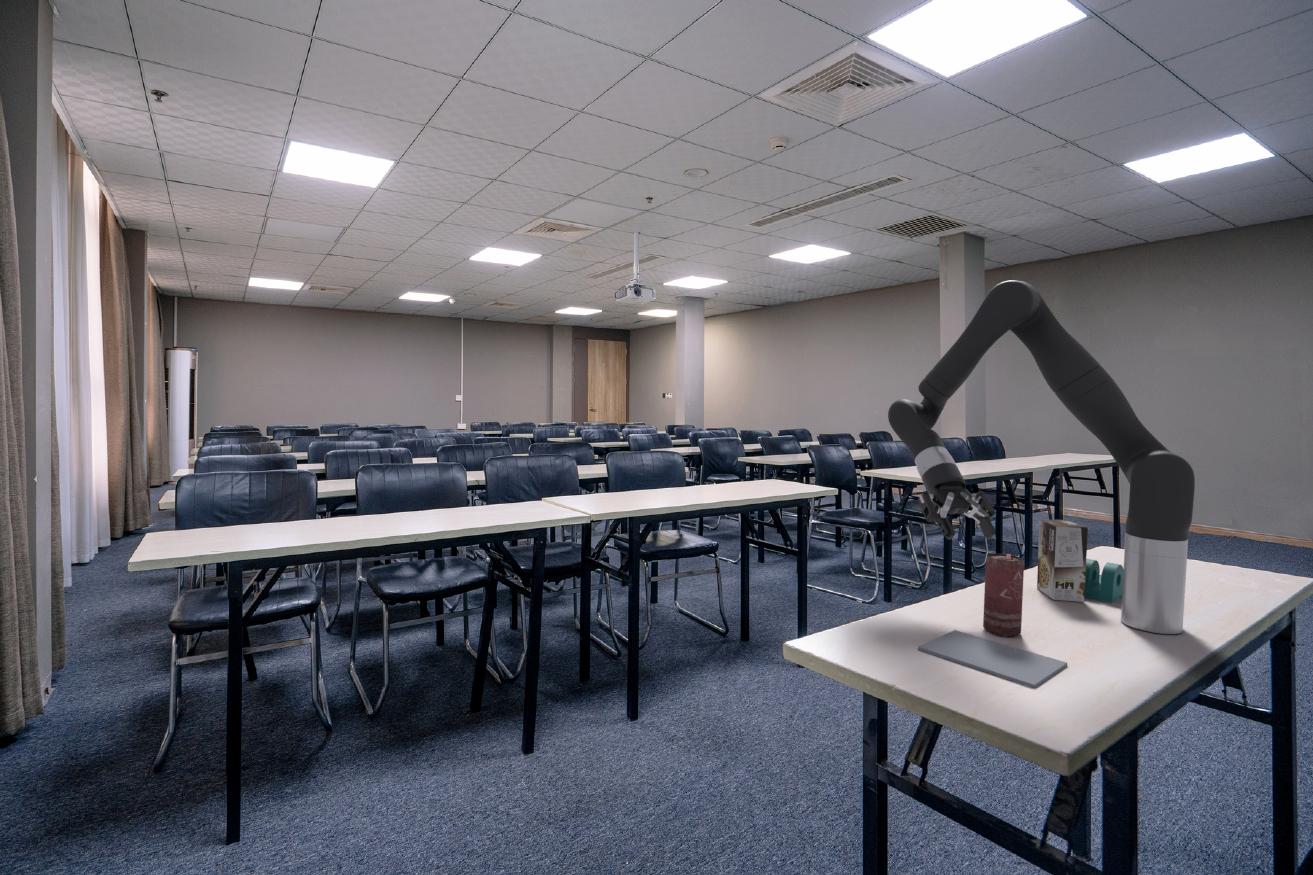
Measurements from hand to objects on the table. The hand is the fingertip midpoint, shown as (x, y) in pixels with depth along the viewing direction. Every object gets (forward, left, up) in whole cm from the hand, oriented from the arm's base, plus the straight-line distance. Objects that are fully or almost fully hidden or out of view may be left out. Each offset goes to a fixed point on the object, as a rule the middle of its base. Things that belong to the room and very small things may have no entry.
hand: (971, 536), depth 123 cm
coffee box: (-29, +6, -16) cm, 34 cm away
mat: (+19, +12, -16) cm, 27 cm away
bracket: (-41, +12, -16) cm, 46 cm away
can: (+5, +8, -16) cm, 18 cm away
